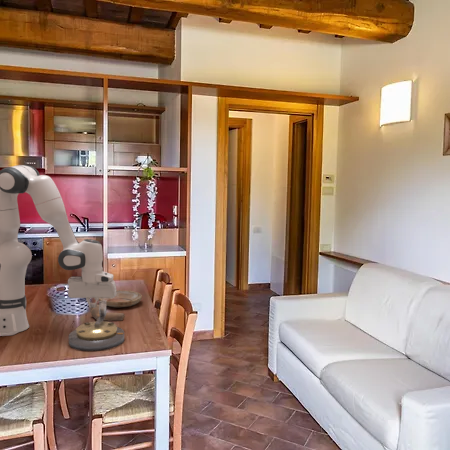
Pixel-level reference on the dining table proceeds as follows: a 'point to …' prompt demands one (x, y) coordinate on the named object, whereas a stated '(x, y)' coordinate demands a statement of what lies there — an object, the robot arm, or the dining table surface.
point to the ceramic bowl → (123, 299)
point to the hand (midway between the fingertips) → (92, 307)
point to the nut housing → (96, 342)
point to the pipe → (107, 315)
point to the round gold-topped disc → (97, 327)
